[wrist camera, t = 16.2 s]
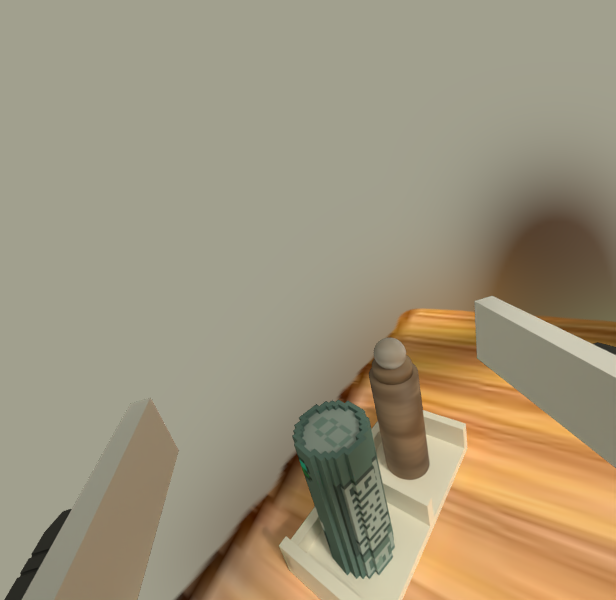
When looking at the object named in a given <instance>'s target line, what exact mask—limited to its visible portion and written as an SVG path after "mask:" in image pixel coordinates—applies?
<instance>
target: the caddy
mask: <svg viewBox="0 0 616 600" xmlns="http://www.w3.org/2000/svg"><path fill="white" fill-rule="evenodd" d="M423 415H424V423H425V431H426V439H427V447H428V455H429V463H430V464H429V469H428V471H427V472H426V474H425V475H423V476H422V477H420V478H418V479H414V480H405V479H401V478H398V477H397V476H395V475H394V474H392V473H391V472H390V470H389V469H388V467H387V464H386V459H385V454H384V449H383V444H382V439H381V434H380V429H379V424H378V421H377V423H376V424H375V425H374V427H373V428H372V429H371V430H372V435H373V440H374V445H375V449H376V454H377V459H378V463H379V468H380V473H381V478H382V482H383V487H384V492H385V496H386V501H387V506H388V511H389V515H390V520H391V525H392V529H393V537H394V544H395V548H394V549H393V550H392V554H393V558H392V559H391V561H390V562H389V563H388V565H387V566H386V567H385V568H384V570H383V571H382V572H381V574H380V575H378V574H377V573H376V572H375V573H374V574H373V576H372V577H371V578H370V579H369V578H368V577H367V576H365V578H364V579H362V577H361V576H359V577H358V578H357V579H356V578H355V577H354V575H353V574H352V573H351V572H350V573H349V574H348V575H346V573H345V572H344V571H343V570H342V569H341V567H340V566H339V565H338V564H337V563H336V561H335V560H334V559H333V558H332V555H331V552H330V549H329V546H328V543H327V540H326V537H325V534H324V531H323V528H322V525H321V522H320V519H319V516H318V513H317V510H316V508H315V507H314V508H313V510H312V511H311V513H310V514H309V515H308V517H307V518H306V519H305V521H304V522H303V523H302V525H301V526H300V528H299V529H298V530H297V532H296V533H295V534H294V536H293V537H292V538H291V540H290V539H289V538H288V537H287V536H286V537H285V538H284V539H283V541H282V542H281V543H280V545H279V547H280V550H281V552H282V554H283V557H284V559H285V561H286V563H287V566H288V568H289V570H290V571H291V572H292V573H293V574H294V575H295V576H296V577H297V578H298V579H299V580H300V581H301V582H302V583H304V584H305V585H306V586H307V587H308V588H309V589H310V590H311V591H312V592H313V593H314V594H315V595H317V596H318V597H319V598H320V599H321V600H402V599H403V597H404V595H405V592H406V590H407V588H408V585H409V583H410V581H411V579H412V576H413V574H414V572H415V569H416V567H417V565H418V562H419V560H420V558H421V555H422V553H423V551H424V548H425V546H426V544H427V541H428V539H429V537H430V534H431V532H432V530H433V527H434V525H435V523H436V520H437V518H438V516H439V513H440V511H441V509H442V506H443V504H444V502H445V499H446V497H447V495H448V492H449V490H450V488H451V485H452V483H453V481H454V478H455V476H456V474H457V471H458V469H459V467H460V464H461V462H462V460H463V458H464V455H465V453H466V451H467V435H466V424H465V423H462V422H458V421H455V420H452V419H449V418H446V417H443V416H440V415H437V414H434V413H431V412H427V411H424V410H423Z"/></svg>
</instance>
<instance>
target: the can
mask: <svg viewBox="0 0 616 600" xmlns="http://www.w3.org/2000/svg"><path fill="white" fill-rule="evenodd" d="M299 419H300V421H299V422H298V423H297V424H295V425H294V426H295V430H294V435H293V440H294V442H295V444H294V446H295V449H296V452H297V454H298V457H299V460H300V463H301V466H302V469H303V472H304V475H305V478H306V481H307V484H308V487H309V490H310V493H311V496H312V499H313V502H314V505H315V508H316V510H317V513H318V516H319V519H320V522H321V525H322V528H323V531H324V534H325V537H326V540H327V543H328V546H329V549H330V552H331V555H332V558H333V559H334V560H335V561H336V563H337V564H338V565H339V566H340V567H341V569H342V570H343V571H344V572H345V573H346V575H348V574H349V573H350V572H351V573H352V574H353V575H354V577H355V578H356V579H357V578H358V577H359V576H361V577H362V579H364V578H365V576H367V577H368V578H369V579H370V578H371V577H372V576H373V574H374V573H375V572H376V573H377V574H378V575H380V574H381V572H382V571H383V570H384V568H385V567H386V566H387V565H388V563H389V562H390V561H391V559H392V558H393V554H392V550H393V549H394V548H395V544H394V537H393V529H392V525H391V520H390V515H389V511H388V506H387V501H386V496H385V492H384V487H383V482H382V478H381V473H380V468H379V463H378V459H377V454H376V449H375V445H374V440H373V435H372V430H371V426H370V421H369V418H368V417H366V414H365V411H364V410H363V409H361V408H359V407H358V406H356V405H354V404H352V403H351V402H349V401H347V402H346V403H343V402H341V401H340V400H337V401H336V402H334V401H331V402H329V403H328V402H327V401H326V402H324V403H323V404H321V405H320V406H318V405H317V404H316V405H315V406H313V407H312V408H311V409H310V410H308V411H307V412H306V413H304V414H303V415H302V416H300V417H299Z"/></svg>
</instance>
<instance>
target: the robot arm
mask: <svg viewBox="0 0 616 600" xmlns="http://www.w3.org/2000/svg"><path fill="white" fill-rule="evenodd" d="M475 323H476V344H477V359H479V360H480V361H481V362H482V363H484V364H485V365H486V366H488V367H489V368H490V369H491V370H493V371H494V372H495V373H496V374H498V375H499V376H500V377H501V378H503V379H504V380H505V381H507V382H508V383H509V384H510V385H512V386H513V387H514V388H515V389H517V390H518V391H519V392H520V393H522V394H523V395H524V396H525V397H527V398H528V399H529V400H531V401H532V402H533V403H534V404H536V405H537V406H538V407H539V408H541V409H542V410H543V411H544V412H546V413H547V414H548V415H549V416H551V417H552V418H553V419H555V420H556V421H557V422H558V423H560V424H561V425H562V426H563V427H565V428H566V429H567V430H568V431H570V432H571V433H572V434H573V435H575V436H576V437H577V438H579V439H580V440H581V441H582V442H584V443H585V444H586V445H587V446H589V447H590V448H591V449H592V450H594V451H595V452H596V453H597V454H599V455H600V456H601V457H603V458H604V459H605V460H606V461H608V462H609V463H610V464H611V465H613V466H614V467H615V468H616V347H613V346H610V345H606V344H602V343H598V342H597V343H594V344H591V343H589V342H587V341H585V340H583V339H581V338H579V337H577V336H575V335H573V334H571V333H568V332H566V331H564V330H562V329H560V328H558V327H556V326H554V325H552V324H550V323H548V322H546V321H543V320H541V319H539V318H537V317H535V316H533V315H531V314H529V313H527V312H525V311H523V310H521V309H518V308H516V307H514V306H512V305H510V304H508V303H506V302H504V301H502V300H499V299H498V298H495V297H493V296H490V297H487V298H484V299H480V300H477V301H475ZM178 451H179V450H178V448H177V446H176V445H175V443H174V441H173V439H172V437H171V435H170V433H169V431H168V430H167V428H166V426H165V424H164V422H163V420H162V418H161V416H160V414H159V413H158V411H157V409H156V407H155V405H154V403H153V401H152V400H151V398H148V399H144V400H141V401H137V402H134V403H130V405H129V407H128V409H127V410H126V412H125V414H124V416H123V418H122V419H121V421H120V423H119V425H118V427H117V428H116V430H115V432H114V434H113V436H112V437H111V439H110V441H109V443H108V445H107V447H106V448H105V450H104V452H103V454H102V456H101V457H100V459H99V461H98V463H97V465H96V466H95V468H94V470H93V472H92V474H91V475H90V477H89V479H88V481H87V483H86V484H85V486H84V488H83V490H82V492H81V494H80V495H79V497H78V499H77V501H76V502H75V504H74V506H73V508H72V509H69V510H66V511H64V512H62V513H61V514H60V515H59V517H58V518H57V519H56V520H55V521H54V522H53V523H52V524H51V526H50V527H49V528H48V529H47V530H46V531H45V532H44V534H43V536H42V537H41V539H40V541H39V542H38V544H37V546H36V548H35V549H34V551H33V553H32V557H31V558H29V559H28V561H27V563H26V564H25V566H24V568H23V569H22V571H21V576H20V577H19V578H17V579H16V581H15V583H14V584H13V586H12V588H11V589H10V591H9V593H8V595H7V596H6V598H5V600H137V599H138V596H139V592H140V588H141V585H142V581H143V578H144V574H145V570H146V567H147V563H148V560H149V556H150V552H151V549H152V545H153V541H154V538H155V534H156V531H157V527H158V523H159V520H160V516H161V513H162V509H163V505H164V502H165V498H166V495H167V491H168V487H169V484H170V480H171V476H172V473H173V469H174V466H175V462H176V459H177V455H178Z"/></svg>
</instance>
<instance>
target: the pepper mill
mask: <svg viewBox="0 0 616 600" xmlns="http://www.w3.org/2000/svg"><path fill="white" fill-rule="evenodd" d="M374 357H375V359H374V360H373V362H372V368H371V370H370V372H369V378H370V383H371V388H372V393H373V398H374V403H375V408H376V414H377V419H378V424H379V429H380V434H381V439H382V444H383V449H384V454H385V459H386V464H387V467H388V469H389V470H390V472H391V473H392V474H394V475H395V476H397V477H398V478H401V479H405V480H414V479H418V478H420V477H422V476H423V475H425V474H426V472H427V471H428V469H429V464H430V463H429V455H428V447H427V439H426V431H425V423H424V415H423V407H422V400H421V392H420V384H419V376H418V370H417V367H416V366H415V365H414V364H413V363H412V362H411V359H410V358H409V357H408V356H407V355H406V350H405V347H404V345H403V344H402V343H401V342H400V341H399V340H397V339H394V338H384V339H382V340H380V341H379V342H378V343H377V344H376V346H375V348H374Z"/></svg>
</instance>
